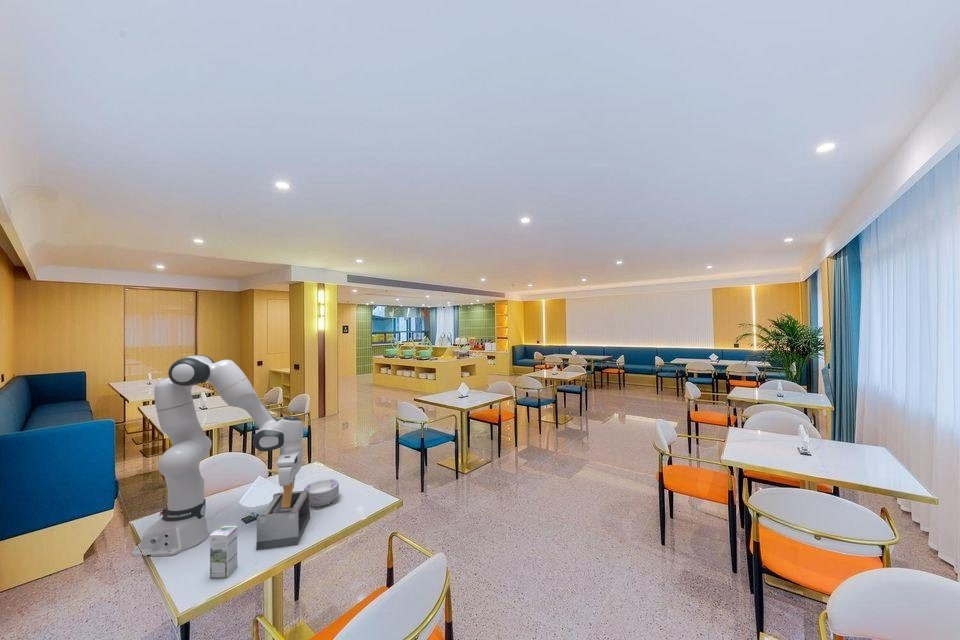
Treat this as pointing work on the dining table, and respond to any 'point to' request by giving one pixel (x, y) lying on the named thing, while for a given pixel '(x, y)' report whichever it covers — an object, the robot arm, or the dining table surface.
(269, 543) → the grey storage bin
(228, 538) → the syrup box
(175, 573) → the dining table surface
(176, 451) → the robot arm
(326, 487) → the paper bowls
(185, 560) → the dining table surface
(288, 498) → the lever
